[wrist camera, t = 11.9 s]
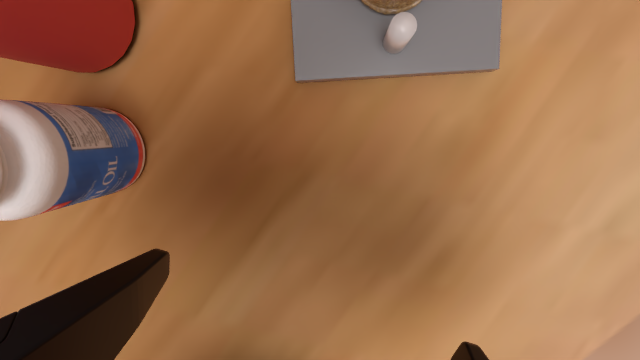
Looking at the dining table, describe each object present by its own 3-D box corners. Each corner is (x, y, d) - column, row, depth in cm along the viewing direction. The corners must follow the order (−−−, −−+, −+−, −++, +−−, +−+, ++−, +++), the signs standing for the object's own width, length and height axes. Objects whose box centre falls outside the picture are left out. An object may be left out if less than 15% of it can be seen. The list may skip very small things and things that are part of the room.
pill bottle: (109, 207, 22) (-75, 272, 12) (52, 145, 22) (-183, 161, 12) (166, 155, 21) (15, 182, 12) (108, 88, 21) (-99, 58, 11)
